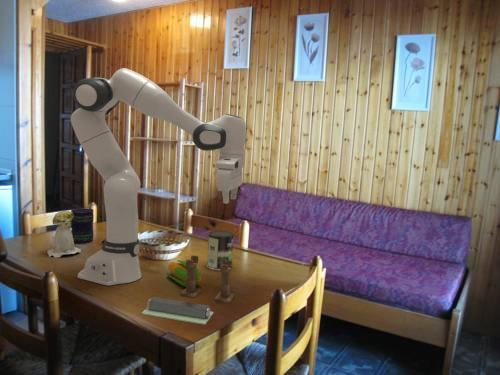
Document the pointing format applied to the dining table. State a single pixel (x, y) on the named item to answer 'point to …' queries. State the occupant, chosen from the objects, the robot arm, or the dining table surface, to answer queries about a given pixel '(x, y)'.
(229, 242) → the coffee can
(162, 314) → the mat
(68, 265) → the dining table surface
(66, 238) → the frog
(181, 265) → the corn
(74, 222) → the storage jar
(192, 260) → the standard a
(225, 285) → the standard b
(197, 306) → the rail
